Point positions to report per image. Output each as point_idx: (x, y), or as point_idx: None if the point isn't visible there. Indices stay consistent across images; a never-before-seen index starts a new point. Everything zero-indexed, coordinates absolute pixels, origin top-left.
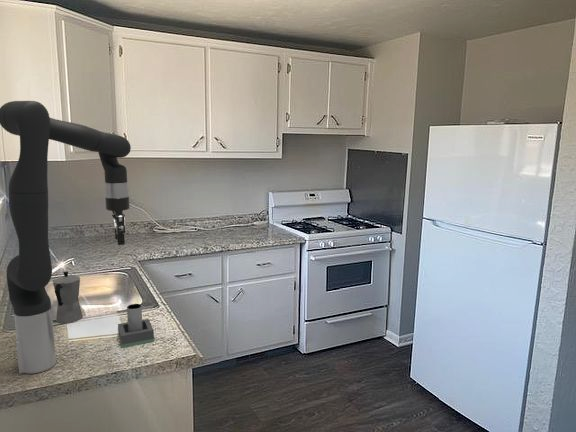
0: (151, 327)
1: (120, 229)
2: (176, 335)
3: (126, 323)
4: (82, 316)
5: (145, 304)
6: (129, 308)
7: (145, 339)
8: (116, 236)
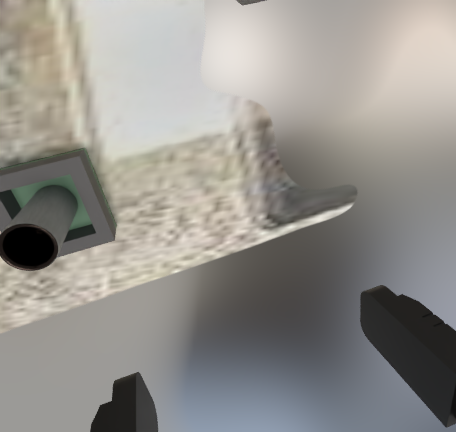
0: None
1: (443, 415)
2: (70, 293)
3: (81, 183)
4: (243, 4)
5: (294, 192)
6: (1, 236)
7: None
8: (384, 316)
